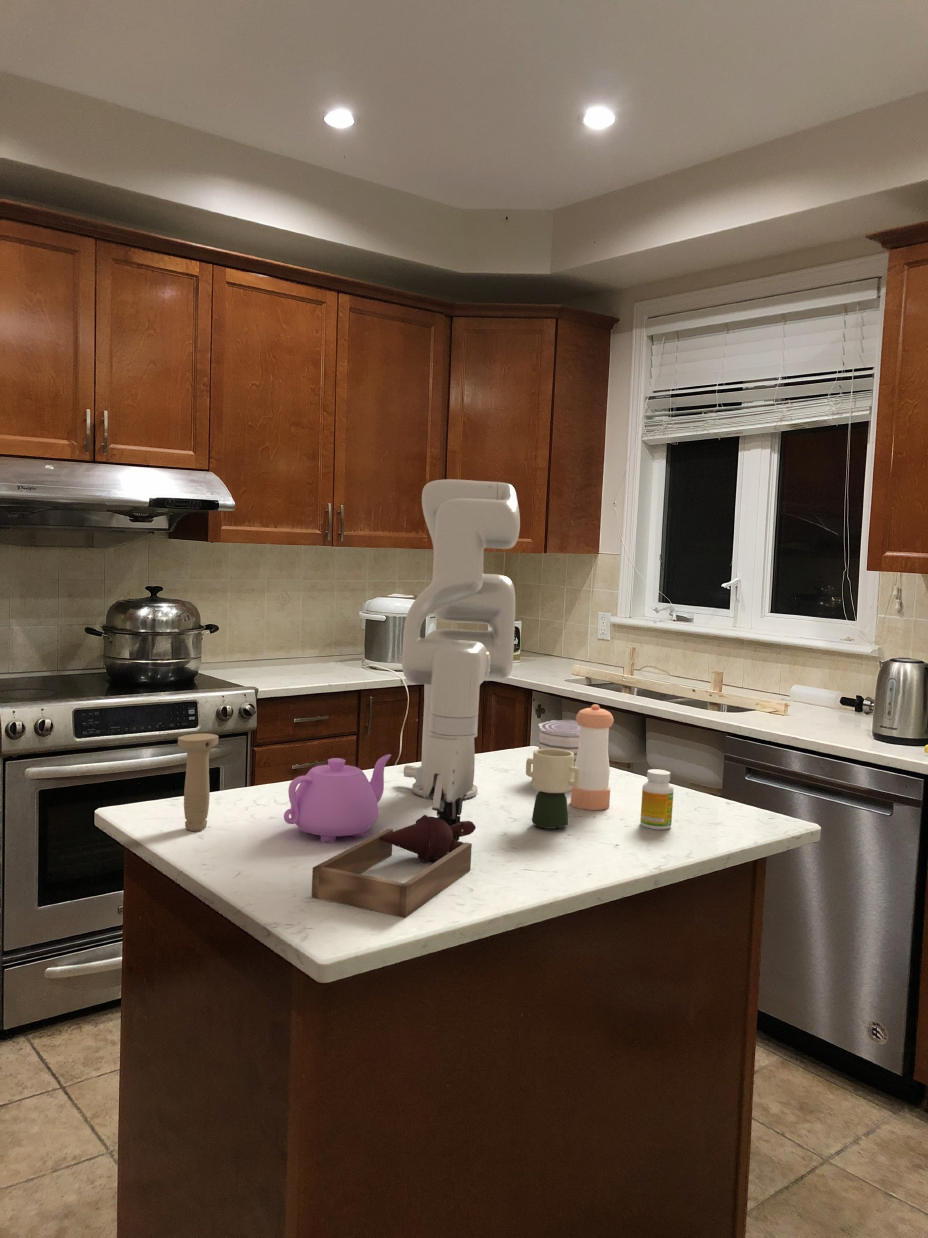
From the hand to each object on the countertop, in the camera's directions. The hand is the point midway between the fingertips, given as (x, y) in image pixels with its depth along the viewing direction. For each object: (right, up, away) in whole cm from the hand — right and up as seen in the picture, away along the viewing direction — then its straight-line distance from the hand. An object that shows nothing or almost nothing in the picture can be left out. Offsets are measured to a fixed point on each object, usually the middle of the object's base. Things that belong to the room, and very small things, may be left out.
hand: (447, 840), depth 150 cm
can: (+23, +1, +48) cm, 54 cm away
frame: (-7, -2, -16) cm, 18 cm away
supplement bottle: (+36, -2, +19) cm, 41 cm away
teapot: (-18, 0, +6) cm, 19 cm away
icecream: (-3, -2, -6) cm, 7 cm away
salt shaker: (+26, -1, +31) cm, 40 cm away
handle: (-41, +1, +4) cm, 41 cm away
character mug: (+17, -1, +15) cm, 23 cm away
